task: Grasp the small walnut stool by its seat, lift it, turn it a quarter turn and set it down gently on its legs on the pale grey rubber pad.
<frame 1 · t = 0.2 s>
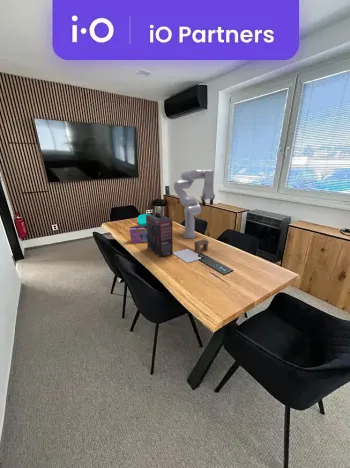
hand: (207, 205, 177), 36 cm above the table, tool pointing down, fingers open, 9 cm apart
walnut stool: (201, 250, 175), on the table
grey pad: (187, 255, 164), on the table
gum box: (143, 241, 196), on the table
headset box: (159, 251, 173), on the table
table top decor: (150, 229, 232), on the table
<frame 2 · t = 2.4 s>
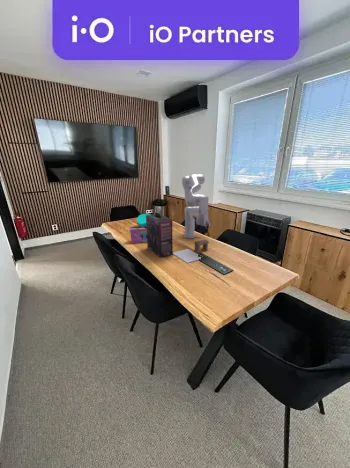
hand: (202, 231, 170), 17 cm above the table, tool pointing down, fingers open, 9 cm apart
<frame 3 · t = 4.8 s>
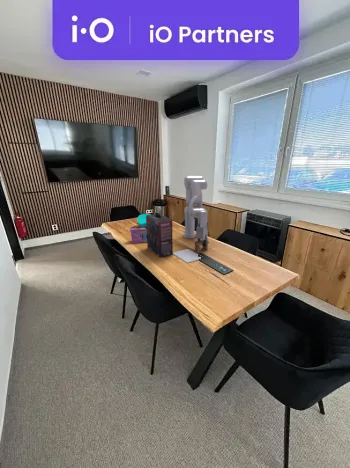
hand: (201, 245, 174), 5 cm above the table, tool pointing down, fingers closed on walnut stool, 5 cm apart
walnut stool: (201, 250, 175), on the table, touching gripper
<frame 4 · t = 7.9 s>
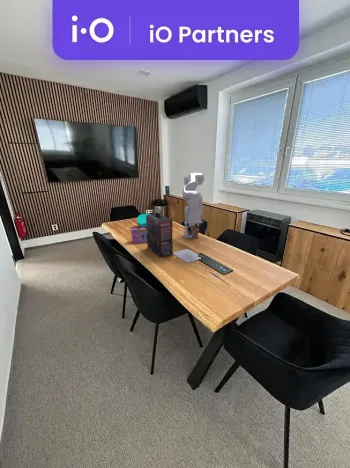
hand: (193, 231, 161), 20 cm above the table, tool pointing down, fingers closed on walnut stool, 5 cm apart
walnut stool: (192, 236, 163), point 15 cm above the table, touching gripper
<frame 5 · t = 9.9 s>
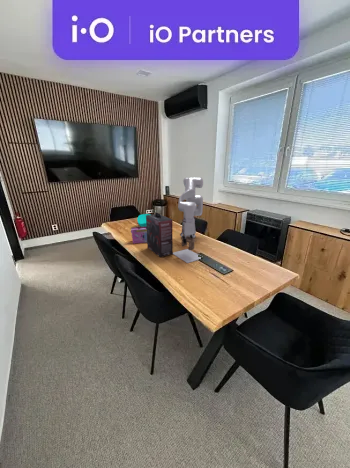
hand: (187, 242, 160), 12 cm above the table, tool pointing down, fingers closed on walnut stool, 5 cm apart
walnut stool: (187, 247, 161), point 7 cm above the table, touching gripper
when the fingers open (7 cm above the table, at t = 11.3 s): walnut stool drops 1 cm, resting on grey pad.
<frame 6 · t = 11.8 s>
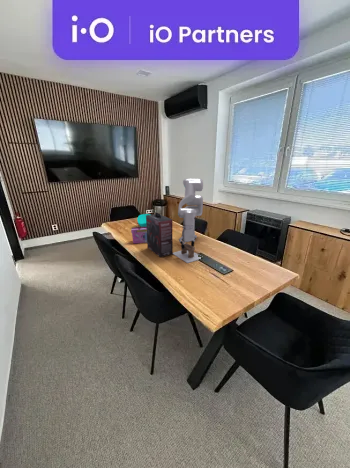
hand: (187, 247, 162), 7 cm above the table, tool pointing down, fingers open, 9 cm apart
walnut stool: (187, 255, 164), point 1 cm above the table, touching grey pad
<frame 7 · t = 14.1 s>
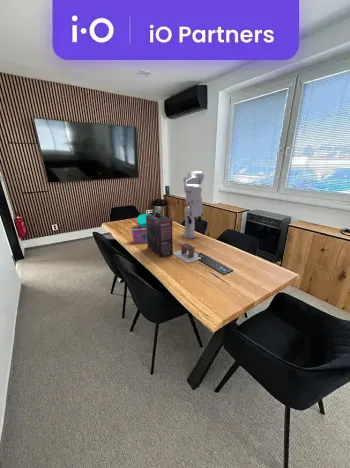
hand: (194, 222, 165), 25 cm above the table, tool pointing down, fingers open, 9 cm apart
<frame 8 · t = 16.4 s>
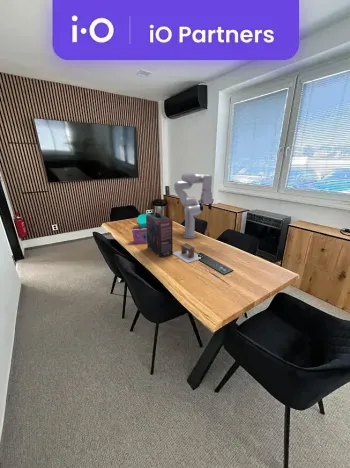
hand: (205, 209, 178), 32 cm above the table, tool pointing down, fingers open, 9 cm apart
at the end: walnut stool inside the target area on the grey pad (0.0 cm from its centre), point 0.6 cm above the grey pad's base; walnut stool tilted 0°; the gripper is holding nothing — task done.
